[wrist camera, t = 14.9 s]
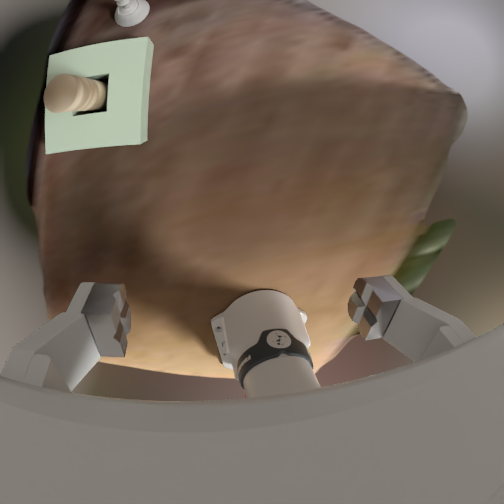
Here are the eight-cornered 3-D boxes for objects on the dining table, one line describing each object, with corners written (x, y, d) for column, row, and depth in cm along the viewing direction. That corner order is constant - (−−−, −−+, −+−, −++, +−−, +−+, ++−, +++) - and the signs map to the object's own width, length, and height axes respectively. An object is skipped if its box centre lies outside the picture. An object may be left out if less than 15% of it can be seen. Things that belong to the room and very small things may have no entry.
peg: (114, 108, 30) (75, 109, 19) (89, 111, 29) (43, 116, 18) (116, 81, 28) (78, 70, 17) (90, 84, 27) (44, 78, 16)
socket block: (147, 140, 33) (140, 144, 29) (60, 148, 30) (45, 154, 27) (153, 44, 27) (148, 36, 23) (63, 59, 24) (49, 55, 20)
